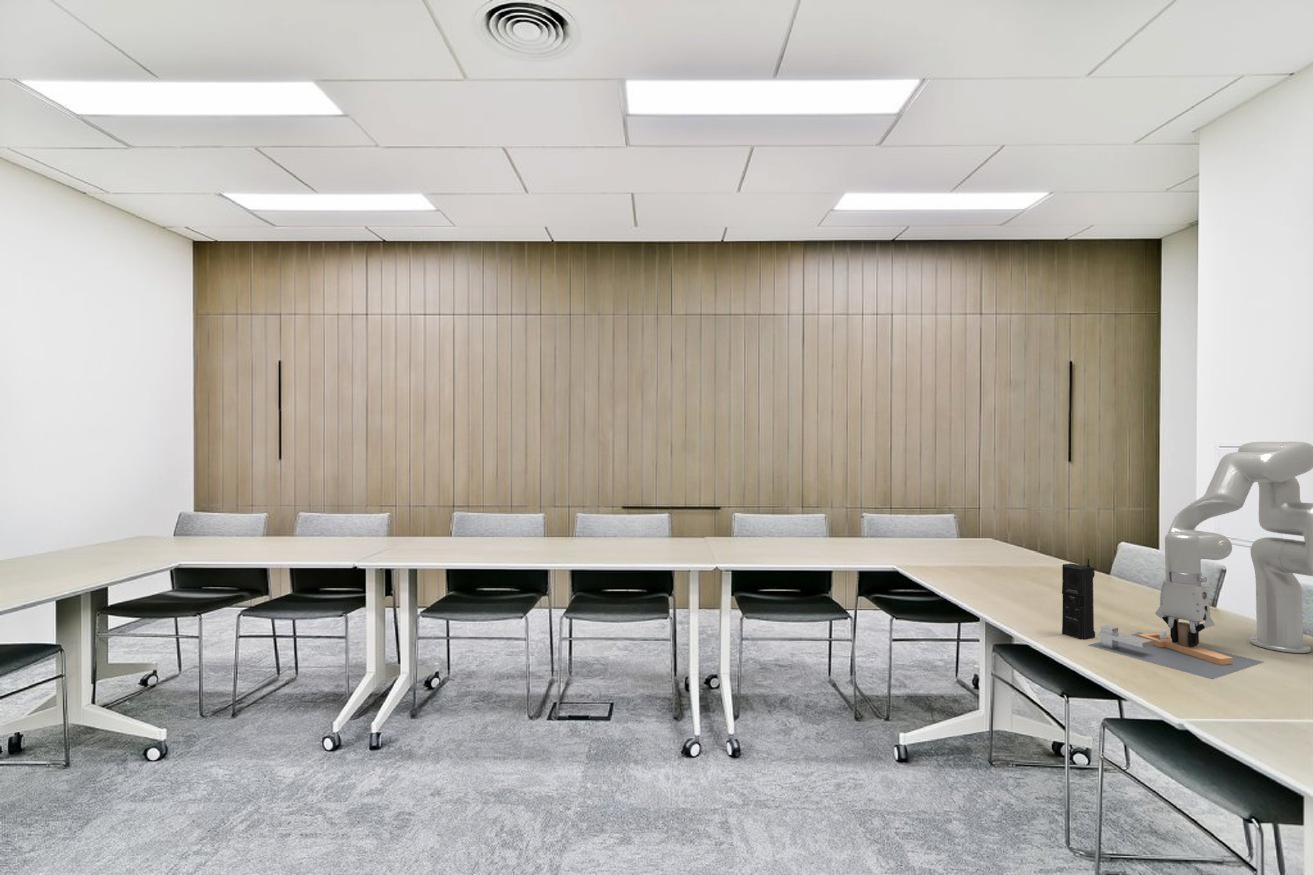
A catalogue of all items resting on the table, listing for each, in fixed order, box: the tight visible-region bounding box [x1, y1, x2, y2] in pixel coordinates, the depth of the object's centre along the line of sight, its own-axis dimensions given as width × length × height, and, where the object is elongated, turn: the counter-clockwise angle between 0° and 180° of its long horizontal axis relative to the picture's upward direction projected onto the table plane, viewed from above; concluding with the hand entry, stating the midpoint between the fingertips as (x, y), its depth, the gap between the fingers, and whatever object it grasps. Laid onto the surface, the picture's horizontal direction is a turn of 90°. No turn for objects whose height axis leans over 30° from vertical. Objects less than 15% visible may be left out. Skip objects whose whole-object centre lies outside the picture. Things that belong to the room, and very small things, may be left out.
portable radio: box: [1061, 558, 1096, 641], centre depth 187 cm, size 8×6×25 cm
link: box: [1137, 621, 1233, 665], centre depth 172 cm, size 22×7×8 cm, turn 10°
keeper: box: [1098, 624, 1153, 649], centre depth 173 cm, size 5×11×7 cm, turn 26°
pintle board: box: [1087, 629, 1264, 680], centre depth 171 cm, size 27×29×5 cm
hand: (1184, 643), depth 172 cm, fingers closed on link, 3 cm apart
